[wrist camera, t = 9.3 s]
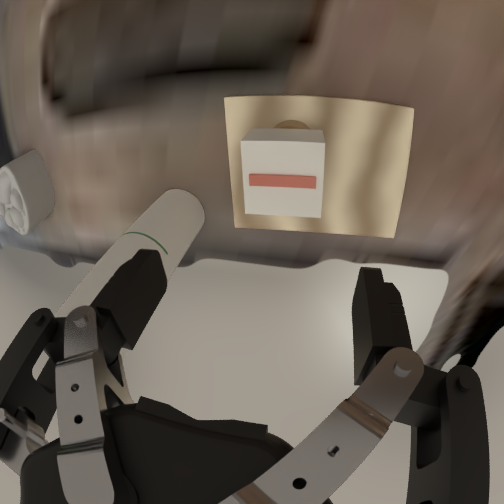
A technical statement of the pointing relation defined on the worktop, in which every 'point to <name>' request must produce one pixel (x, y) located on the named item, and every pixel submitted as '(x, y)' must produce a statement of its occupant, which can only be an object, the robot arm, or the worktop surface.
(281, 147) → the white minus sign cube
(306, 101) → the board
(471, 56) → the worktop surface
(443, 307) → the worktop surface
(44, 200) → the lumpy-topped squat cylinder
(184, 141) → the worktop surface
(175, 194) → the cylindrical container
